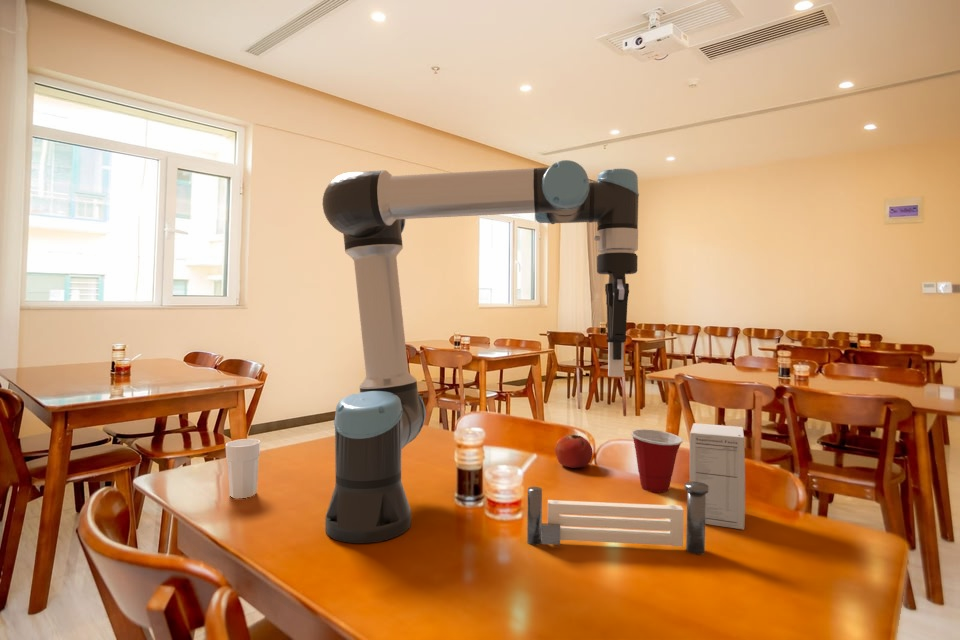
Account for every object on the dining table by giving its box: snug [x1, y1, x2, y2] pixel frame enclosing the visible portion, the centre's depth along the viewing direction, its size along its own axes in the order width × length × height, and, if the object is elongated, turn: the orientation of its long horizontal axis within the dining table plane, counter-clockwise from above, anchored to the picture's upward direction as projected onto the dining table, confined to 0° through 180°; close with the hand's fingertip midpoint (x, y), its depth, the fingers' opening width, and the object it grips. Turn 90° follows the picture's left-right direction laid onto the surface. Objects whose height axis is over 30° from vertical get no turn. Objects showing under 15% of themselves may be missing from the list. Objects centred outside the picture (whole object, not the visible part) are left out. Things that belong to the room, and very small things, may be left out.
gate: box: [547, 499, 685, 547], centre depth 89 cm, size 22×2×6 cm, turn 84°
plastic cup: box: [630, 428, 684, 494], centre depth 117 cm, size 11×11×12 cm
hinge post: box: [684, 481, 709, 556], centre depth 87 cm, size 4×4×11 cm
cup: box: [225, 438, 261, 499], centre depth 112 cm, size 7×7×11 cm
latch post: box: [526, 486, 561, 546], centre depth 89 cm, size 5×4×9 cm
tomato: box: [554, 434, 593, 469], centre depth 133 cm, size 9×9×8 cm
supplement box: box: [689, 422, 746, 530], centre depth 101 cm, size 10×9×17 cm
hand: (615, 376), depth 103 cm, fingers closed
